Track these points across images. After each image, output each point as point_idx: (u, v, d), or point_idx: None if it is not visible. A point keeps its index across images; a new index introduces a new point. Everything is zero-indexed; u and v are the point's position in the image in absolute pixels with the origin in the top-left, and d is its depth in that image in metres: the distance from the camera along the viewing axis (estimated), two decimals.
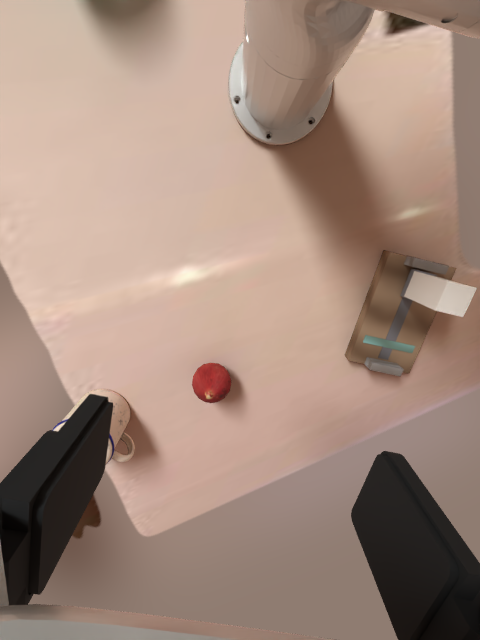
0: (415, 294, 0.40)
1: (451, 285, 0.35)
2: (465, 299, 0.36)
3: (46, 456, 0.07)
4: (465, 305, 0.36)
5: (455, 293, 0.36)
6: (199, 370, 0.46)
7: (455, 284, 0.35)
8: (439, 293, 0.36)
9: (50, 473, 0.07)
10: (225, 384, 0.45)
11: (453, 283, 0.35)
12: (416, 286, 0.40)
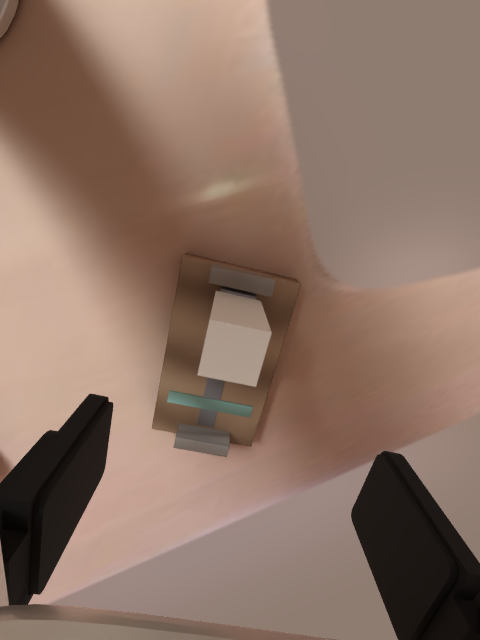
0: None
1: (218, 328, 0.17)
2: (253, 354, 0.18)
3: (46, 456, 0.07)
4: (256, 365, 0.18)
5: (231, 343, 0.18)
6: None
7: (226, 326, 0.17)
8: None
9: (50, 473, 0.07)
10: None
11: (221, 324, 0.17)
12: None
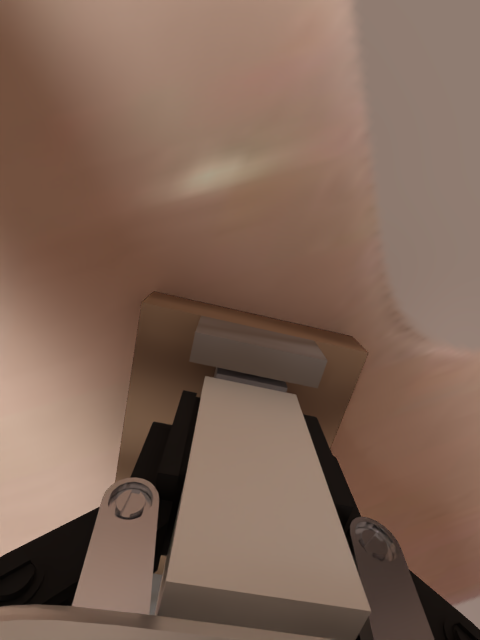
0: None
1: (196, 602, 0.05)
2: None
3: (174, 441, 0.08)
4: None
5: None
6: None
7: (222, 597, 0.05)
8: (158, 607, 0.06)
9: (183, 454, 0.08)
10: None
11: (207, 592, 0.05)
12: None
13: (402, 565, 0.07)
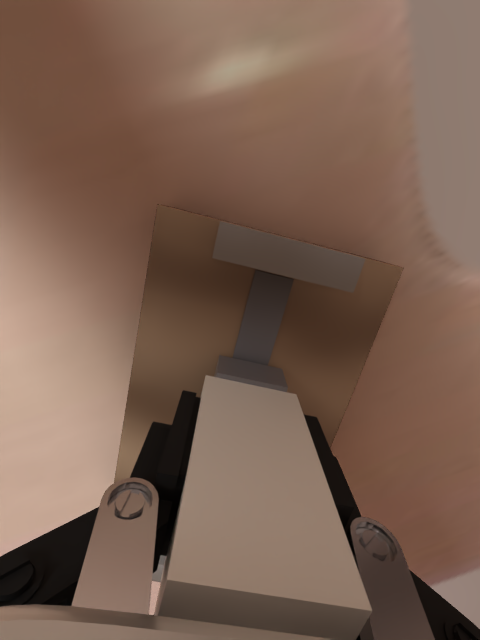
0: None
1: (197, 600, 0.05)
2: None
3: (173, 441, 0.08)
4: None
5: None
6: None
7: (223, 596, 0.05)
8: (158, 606, 0.06)
9: (183, 454, 0.08)
10: None
11: (208, 591, 0.05)
12: None
13: (402, 565, 0.07)
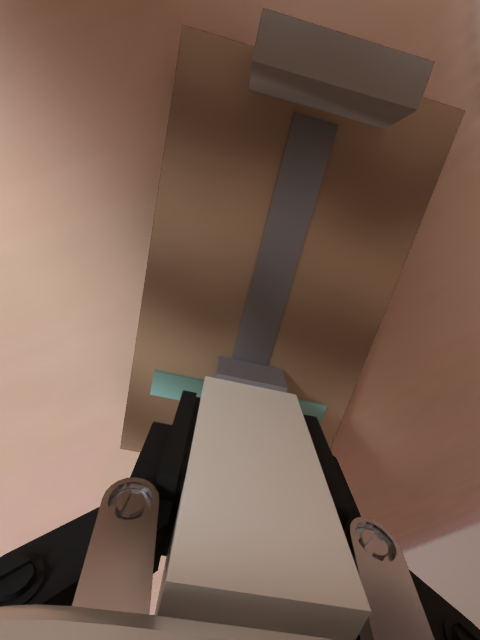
0: None
1: (196, 602, 0.05)
2: None
3: (174, 441, 0.08)
4: None
5: None
6: None
7: (222, 597, 0.05)
8: (157, 607, 0.06)
9: (183, 454, 0.08)
10: None
11: (206, 592, 0.05)
12: None
13: (402, 565, 0.07)
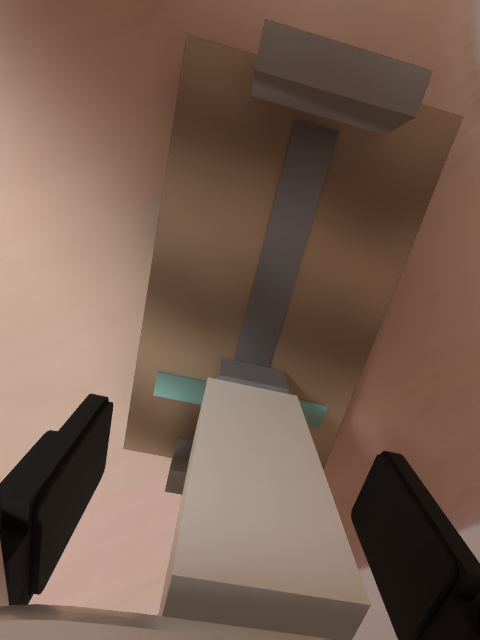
0: (185, 480, 0.11)
1: (201, 595, 0.05)
2: None
3: (46, 456, 0.07)
4: None
5: None
6: None
7: (226, 590, 0.05)
8: (163, 601, 0.06)
9: (50, 473, 0.07)
10: None
11: (211, 586, 0.05)
12: (192, 448, 0.11)
13: None
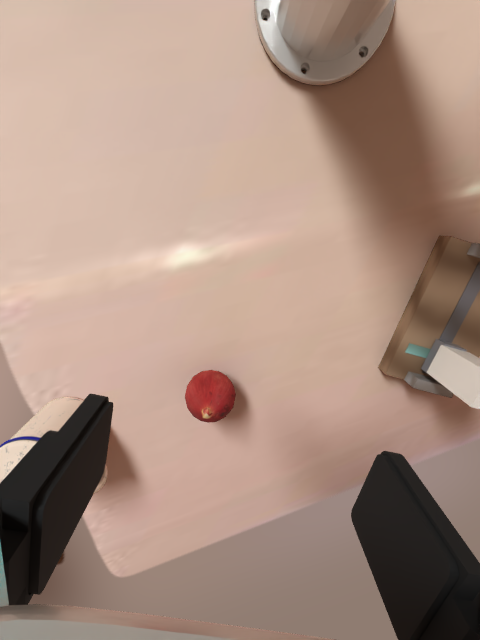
0: (442, 375, 0.33)
1: None
2: None
3: (46, 456, 0.07)
4: None
5: None
6: (195, 379, 0.35)
7: None
8: (477, 385, 0.29)
9: (50, 473, 0.07)
10: (228, 399, 0.34)
11: None
12: (444, 365, 0.33)
13: None
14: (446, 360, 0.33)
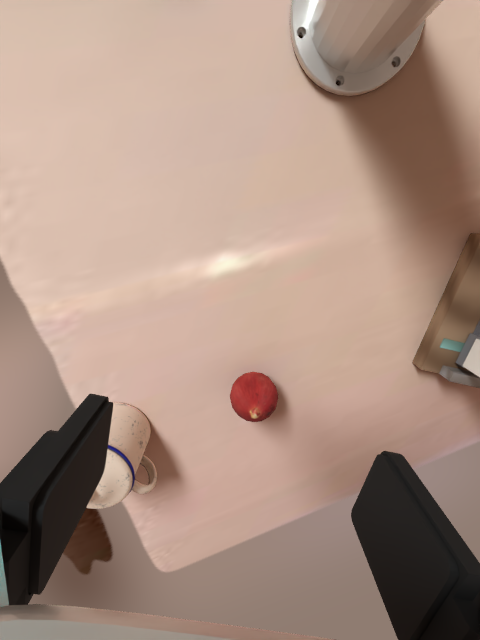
0: (479, 368, 0.34)
1: None
2: None
3: (46, 456, 0.07)
4: None
5: None
6: (240, 381, 0.37)
7: None
8: None
9: (50, 473, 0.07)
10: (273, 399, 0.36)
11: None
12: None
13: None
14: None
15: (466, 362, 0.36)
